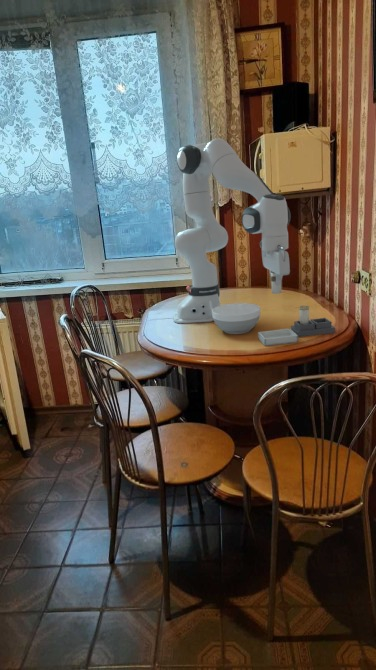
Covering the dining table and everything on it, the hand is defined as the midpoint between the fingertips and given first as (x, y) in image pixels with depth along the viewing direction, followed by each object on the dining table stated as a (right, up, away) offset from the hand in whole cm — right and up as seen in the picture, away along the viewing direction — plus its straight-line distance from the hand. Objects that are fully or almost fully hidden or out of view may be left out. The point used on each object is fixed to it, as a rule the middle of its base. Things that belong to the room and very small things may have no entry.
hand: (276, 284), depth 163 cm
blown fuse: (0, -3, +1) cm, 3 cm away
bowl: (-11, -16, +22) cm, 30 cm away
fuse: (+13, -15, +11) cm, 23 cm away
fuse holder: (+16, -17, +12) cm, 26 cm away
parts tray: (+2, -20, +6) cm, 21 cm away
